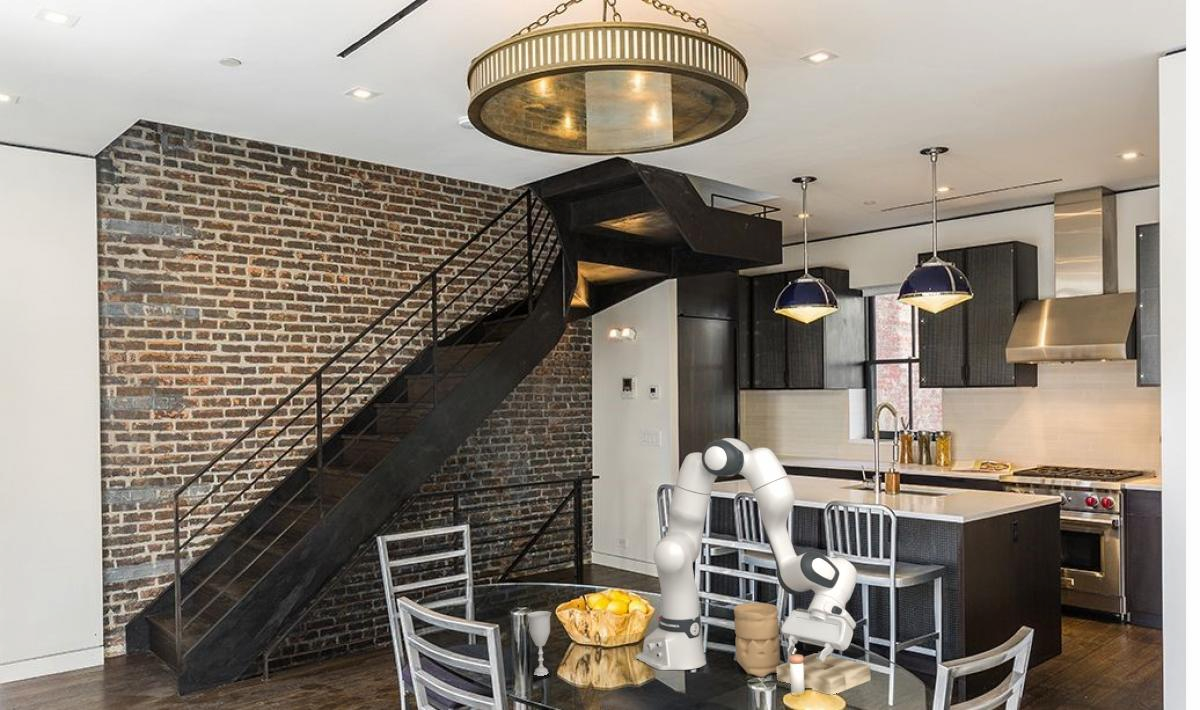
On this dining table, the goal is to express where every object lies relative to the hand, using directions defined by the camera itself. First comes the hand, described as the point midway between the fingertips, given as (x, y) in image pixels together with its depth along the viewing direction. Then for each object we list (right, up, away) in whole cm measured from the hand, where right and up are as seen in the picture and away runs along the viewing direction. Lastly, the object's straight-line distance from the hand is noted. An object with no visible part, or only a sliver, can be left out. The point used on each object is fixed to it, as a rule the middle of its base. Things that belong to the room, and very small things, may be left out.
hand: (804, 656), depth 240 cm
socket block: (+7, -9, +8) cm, 14 cm away
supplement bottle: (+12, -11, +38) cm, 41 cm away
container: (-9, -11, +19) cm, 24 cm away
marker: (-2, -9, -3) cm, 10 cm away
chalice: (-72, -13, +21) cm, 76 cm away
